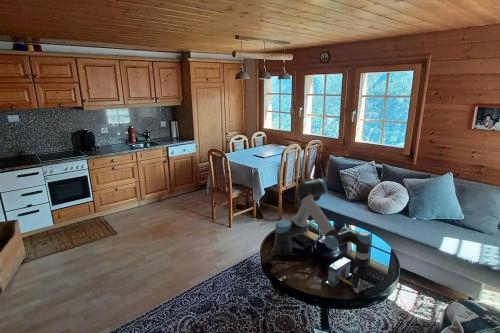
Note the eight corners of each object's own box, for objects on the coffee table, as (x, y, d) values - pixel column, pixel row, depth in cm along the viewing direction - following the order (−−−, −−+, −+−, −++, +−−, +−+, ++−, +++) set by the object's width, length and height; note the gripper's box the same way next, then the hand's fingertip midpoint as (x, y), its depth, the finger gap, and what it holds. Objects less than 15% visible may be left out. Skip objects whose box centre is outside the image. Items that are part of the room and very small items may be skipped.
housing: (325, 283, 184) (326, 266, 181) (344, 271, 196) (345, 255, 193) (332, 287, 180) (334, 271, 177) (351, 275, 192) (352, 259, 189)
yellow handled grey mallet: (332, 277, 189) (333, 269, 188) (336, 275, 192) (337, 267, 190) (358, 293, 175) (359, 284, 173) (362, 290, 177) (363, 282, 176)
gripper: (359, 264, 163) (356, 299, 169) (375, 254, 174) (371, 287, 179) (348, 259, 169) (345, 292, 175) (363, 249, 179) (360, 281, 185)
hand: (358, 290), depth 177 cm, fingers closed on yellow handled grey mallet, 4 cm apart
